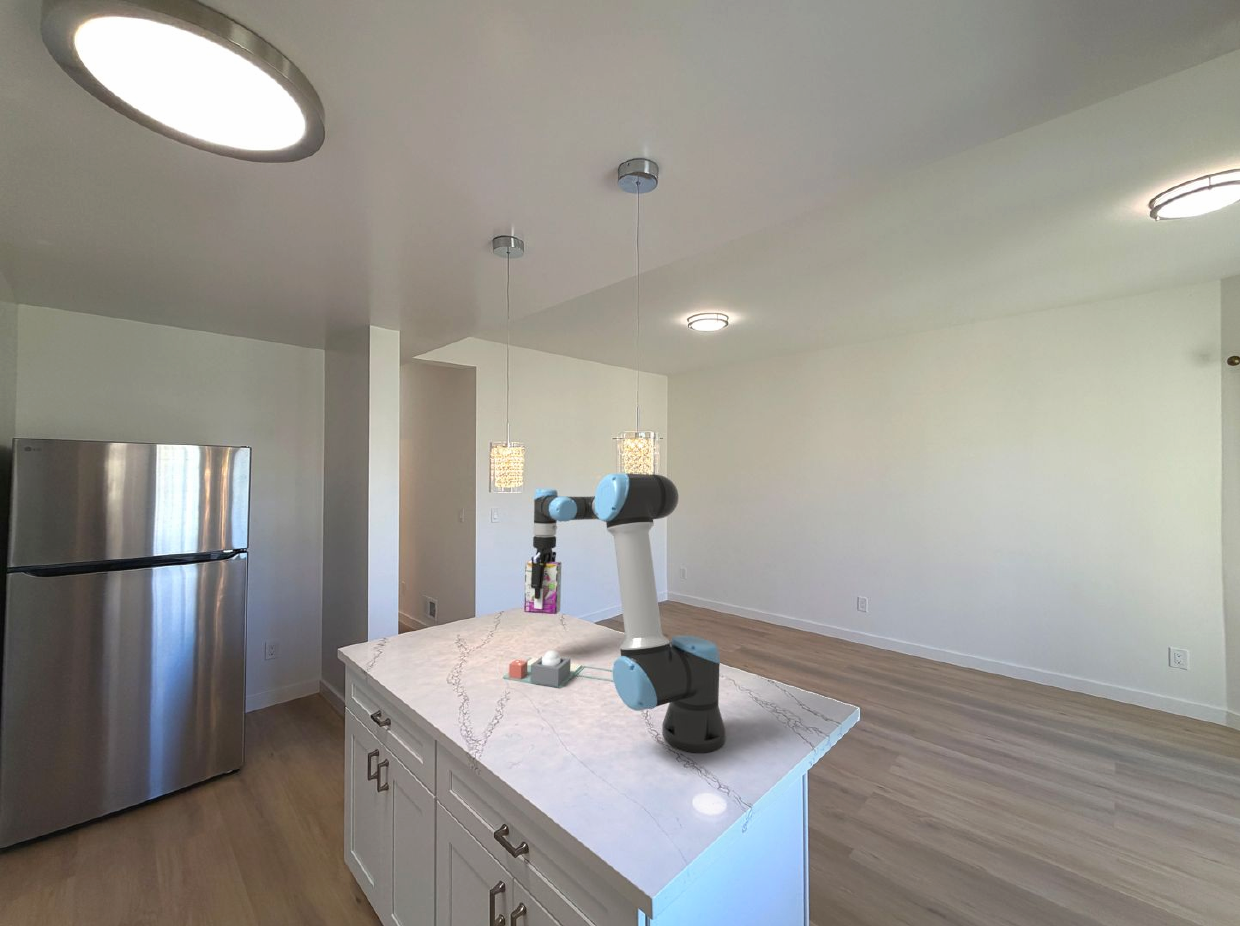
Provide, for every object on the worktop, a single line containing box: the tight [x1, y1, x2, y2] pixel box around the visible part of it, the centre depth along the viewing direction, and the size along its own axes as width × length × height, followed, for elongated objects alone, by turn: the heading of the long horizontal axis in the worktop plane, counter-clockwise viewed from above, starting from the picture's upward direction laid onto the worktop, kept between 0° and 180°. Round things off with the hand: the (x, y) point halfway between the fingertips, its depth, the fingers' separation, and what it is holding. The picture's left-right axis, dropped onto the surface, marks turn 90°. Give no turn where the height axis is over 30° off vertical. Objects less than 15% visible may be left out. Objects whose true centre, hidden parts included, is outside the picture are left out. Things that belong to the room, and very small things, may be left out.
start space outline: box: [573, 665, 614, 683], centre depth 157 cm, size 8×14×1 cm, turn 72°
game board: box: [502, 656, 583, 689], centre depth 157 cm, size 18×19×6 cm
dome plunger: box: [541, 650, 561, 667], centre depth 151 cm, size 6×6×6 cm
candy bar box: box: [523, 560, 562, 615], centre depth 164 cm, size 11×5×16 cm, turn 82°
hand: (542, 605), depth 164 cm, fingers closed on candy bar box, 5 cm apart
